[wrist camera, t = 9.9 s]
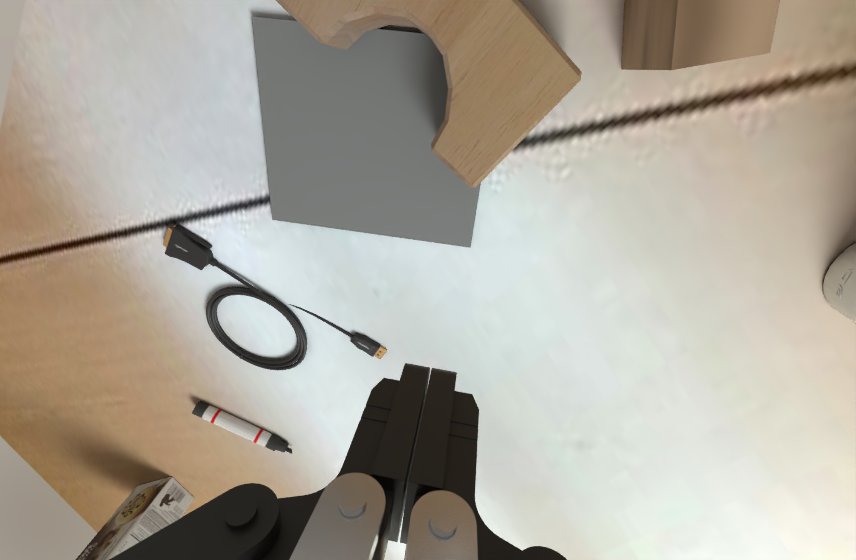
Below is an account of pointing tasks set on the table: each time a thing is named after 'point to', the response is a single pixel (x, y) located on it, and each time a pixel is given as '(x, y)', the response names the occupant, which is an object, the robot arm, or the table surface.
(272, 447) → the marker
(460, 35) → the decorative block
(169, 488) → the coffee box
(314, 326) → the table surface
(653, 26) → the walnut block
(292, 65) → the mat
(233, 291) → the cable
